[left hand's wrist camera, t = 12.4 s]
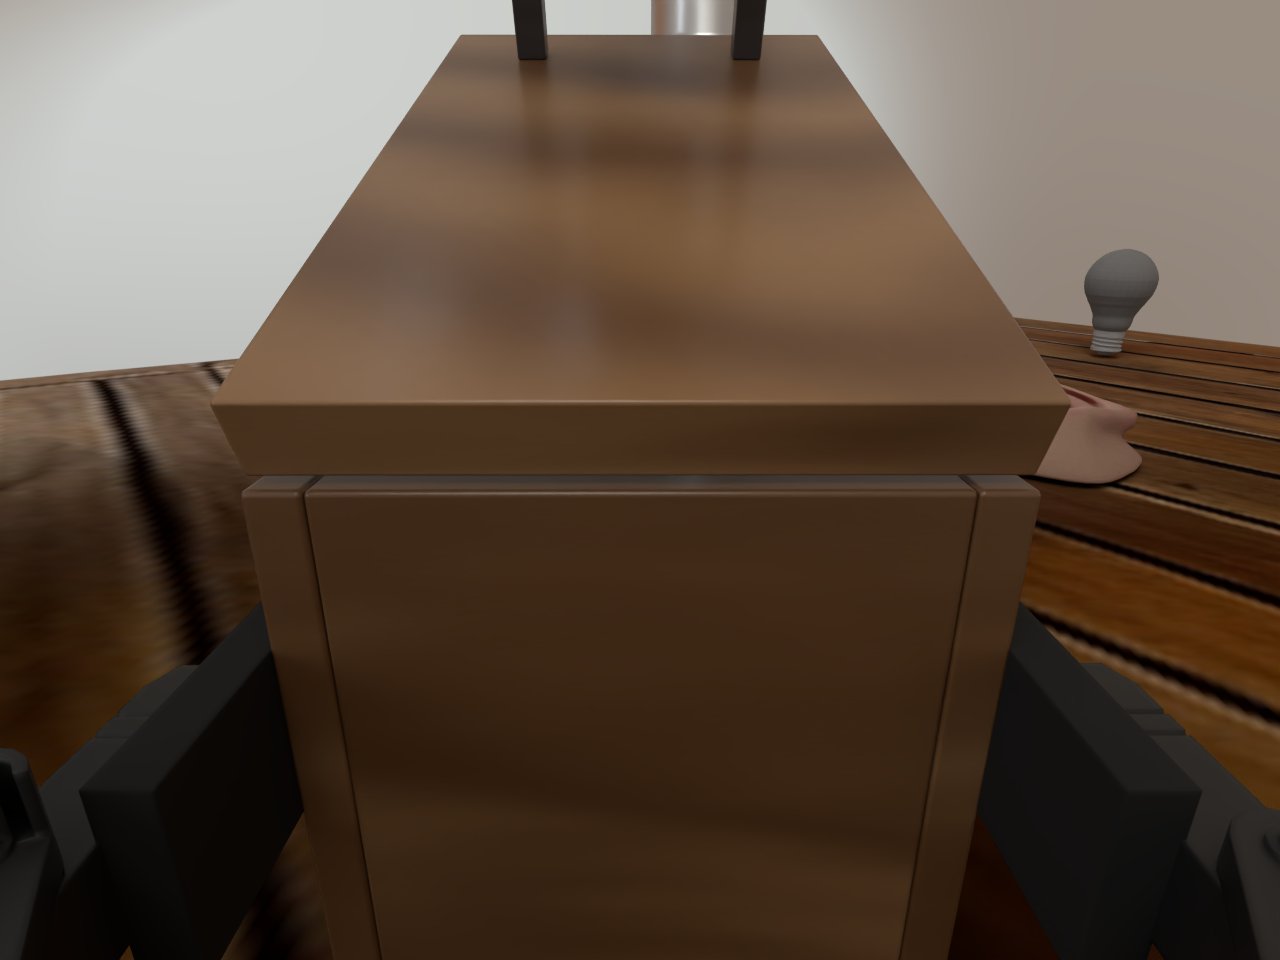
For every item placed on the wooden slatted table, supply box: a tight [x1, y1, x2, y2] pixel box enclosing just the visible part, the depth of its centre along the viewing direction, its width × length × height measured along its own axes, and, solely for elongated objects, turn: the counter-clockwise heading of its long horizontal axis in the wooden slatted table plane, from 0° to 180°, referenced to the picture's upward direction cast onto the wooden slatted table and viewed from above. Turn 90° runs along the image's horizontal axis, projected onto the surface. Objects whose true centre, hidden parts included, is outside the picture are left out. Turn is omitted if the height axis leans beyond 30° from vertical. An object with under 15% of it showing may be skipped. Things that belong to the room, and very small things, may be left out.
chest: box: [241, 475, 1041, 960], centre depth 18 cm, size 15×10×11 cm, turn 0°
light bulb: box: [1084, 249, 1159, 355], centre depth 72 cm, size 6×6×10 cm
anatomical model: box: [1033, 384, 1142, 484], centre depth 44 cm, size 13×4×12 cm
